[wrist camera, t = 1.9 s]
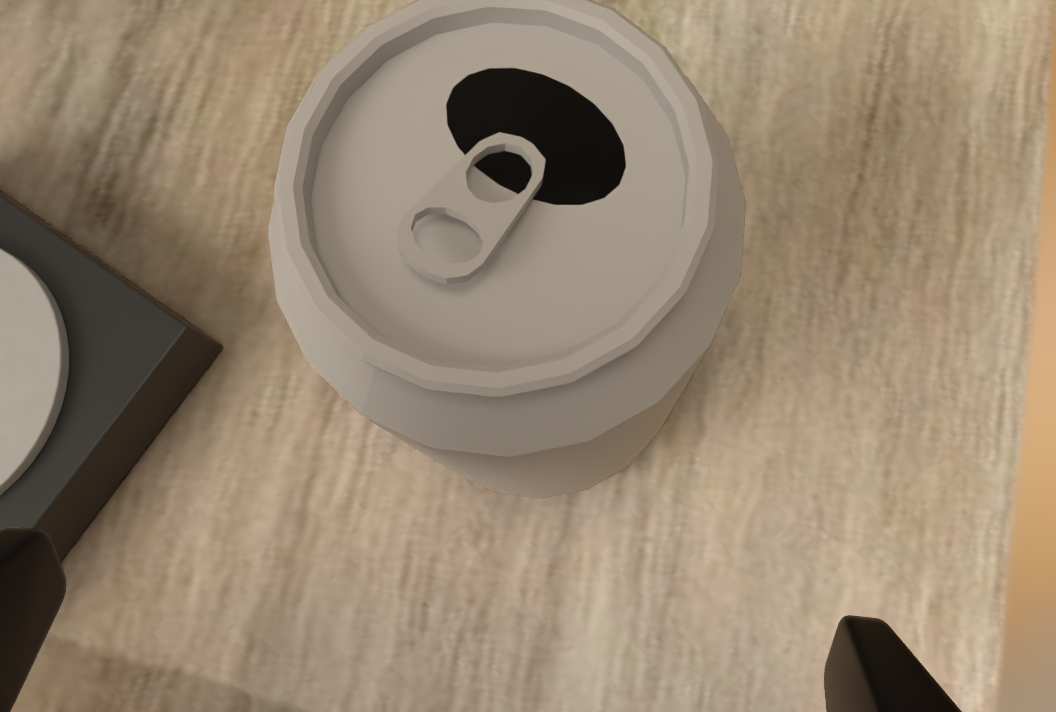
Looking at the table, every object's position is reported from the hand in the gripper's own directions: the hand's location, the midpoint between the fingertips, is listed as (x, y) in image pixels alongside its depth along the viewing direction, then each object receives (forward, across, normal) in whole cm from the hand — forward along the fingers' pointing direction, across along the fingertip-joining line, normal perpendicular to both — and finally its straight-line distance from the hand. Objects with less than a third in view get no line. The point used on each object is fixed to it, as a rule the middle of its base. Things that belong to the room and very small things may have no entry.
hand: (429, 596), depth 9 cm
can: (+13, 0, +5) cm, 14 cm away
